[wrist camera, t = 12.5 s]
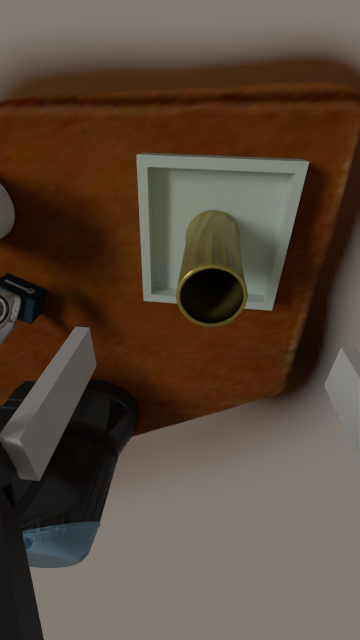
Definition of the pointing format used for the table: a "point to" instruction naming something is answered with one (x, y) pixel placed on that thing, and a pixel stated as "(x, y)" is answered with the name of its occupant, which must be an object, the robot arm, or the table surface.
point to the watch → (18, 303)
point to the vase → (212, 271)
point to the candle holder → (6, 213)
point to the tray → (223, 195)
